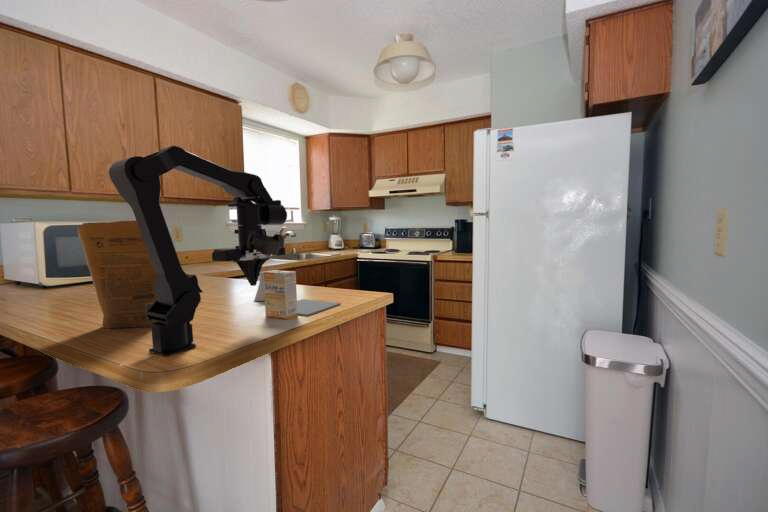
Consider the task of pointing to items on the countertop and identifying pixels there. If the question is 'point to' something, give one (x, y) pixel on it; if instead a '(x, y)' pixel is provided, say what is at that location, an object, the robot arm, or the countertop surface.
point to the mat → (313, 306)
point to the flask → (260, 289)
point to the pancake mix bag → (120, 272)
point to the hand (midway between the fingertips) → (253, 285)
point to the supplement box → (280, 294)
